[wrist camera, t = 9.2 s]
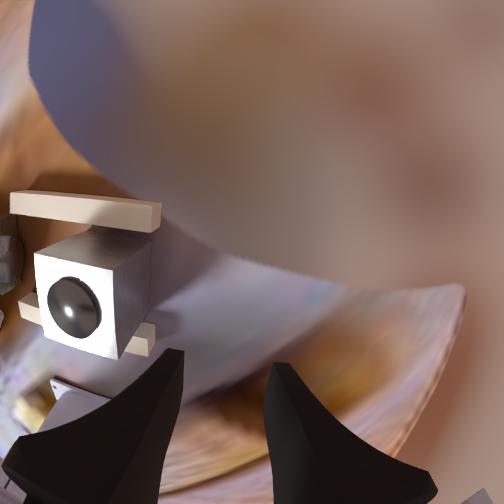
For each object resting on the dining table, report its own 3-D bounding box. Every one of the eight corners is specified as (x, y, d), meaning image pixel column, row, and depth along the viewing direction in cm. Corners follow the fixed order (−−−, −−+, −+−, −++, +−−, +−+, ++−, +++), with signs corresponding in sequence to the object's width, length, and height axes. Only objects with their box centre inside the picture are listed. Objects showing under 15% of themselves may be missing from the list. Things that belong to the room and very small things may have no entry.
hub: (149, 310, 18) (116, 363, 12) (89, 296, 17) (43, 338, 11) (152, 240, 17) (110, 272, 10) (87, 230, 16) (30, 254, 10)
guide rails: (155, 341, 18) (148, 357, 16) (34, 307, 17) (21, 317, 15) (162, 202, 16) (152, 206, 14) (26, 190, 15) (10, 192, 13)
